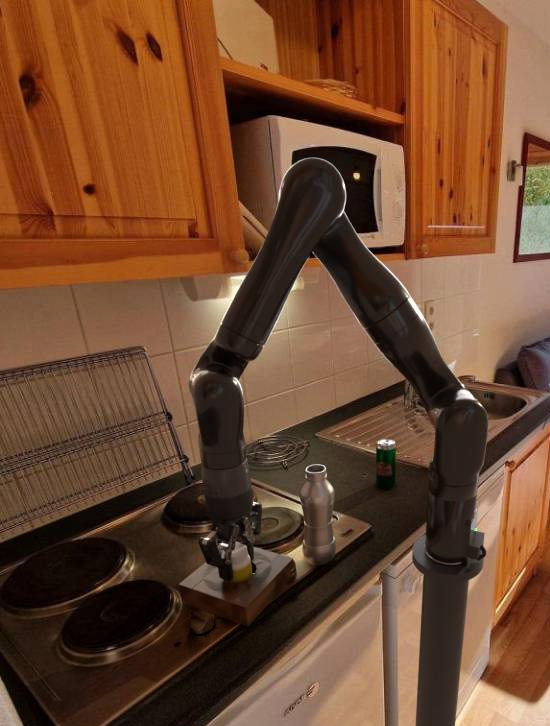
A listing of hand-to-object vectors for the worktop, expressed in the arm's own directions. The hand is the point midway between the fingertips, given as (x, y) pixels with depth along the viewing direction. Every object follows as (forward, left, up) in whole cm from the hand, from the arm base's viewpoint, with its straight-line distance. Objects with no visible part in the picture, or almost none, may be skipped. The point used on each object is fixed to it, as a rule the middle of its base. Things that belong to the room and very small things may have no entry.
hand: (238, 568), depth 85 cm
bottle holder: (0, 0, -4) cm, 4 cm away
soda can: (-9, -47, -5) cm, 48 cm away
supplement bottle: (0, 0, -5) cm, 5 cm away
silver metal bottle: (-9, -13, -5) cm, 17 cm away
